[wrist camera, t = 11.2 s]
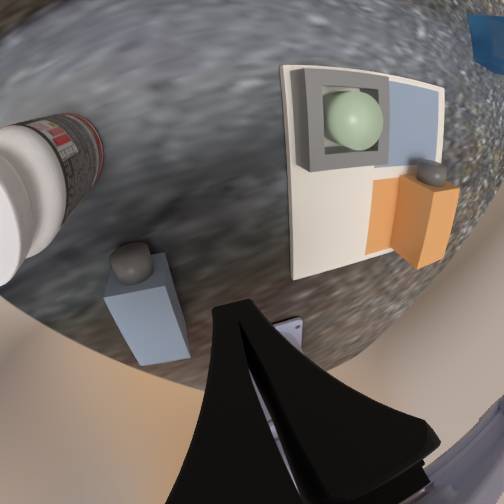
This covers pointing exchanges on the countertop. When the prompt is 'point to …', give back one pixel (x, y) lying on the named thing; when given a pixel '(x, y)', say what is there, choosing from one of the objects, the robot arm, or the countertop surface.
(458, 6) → the countertop surface
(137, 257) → the grey-capped blue block
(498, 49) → the perfume bottle
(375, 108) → the button
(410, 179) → the orange marker
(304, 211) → the sheet
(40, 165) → the pill bottle
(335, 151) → the button housing
